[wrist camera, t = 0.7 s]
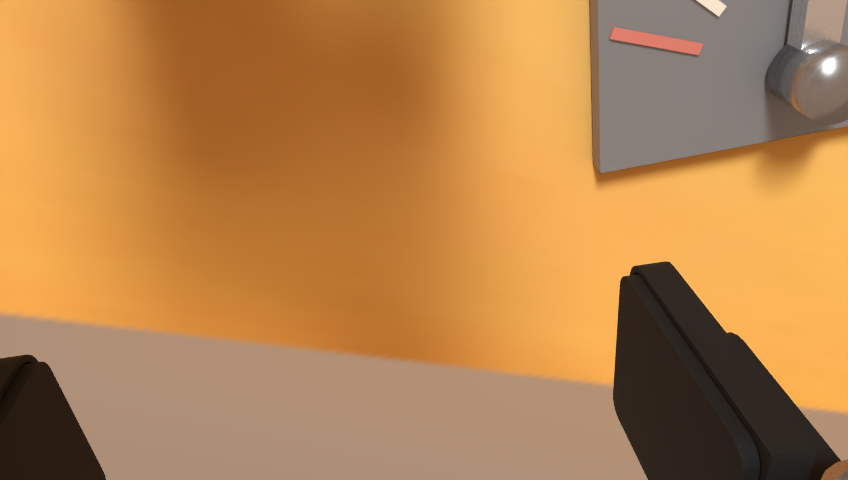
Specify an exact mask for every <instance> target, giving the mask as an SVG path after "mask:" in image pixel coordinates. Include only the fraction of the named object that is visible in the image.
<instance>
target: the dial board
mask: <svg viewBox="0 0 848 480" xmlns="http://www.w3.org/2000/svg"><path fill="white" fill-rule="evenodd" d="M792 2H793V0H590V33H591V79H592V126H593V164H594V166H595V167H596V168H597V170H598V171H599V172H600V173H606V172H611V171H616V170H621V169H626V168H632V167H637V166H642V165H647V164H653V163H658V162H663V161H668V160H673V159H679V158H684V157H689V156H694V155H700V154H705V153H710V152H715V151H721V150H726V149H731V148H736V147H741V146H747V145H752V144H757V143H762V142H768V141H773V140H778V139H783V138H788V137H794V136H799V135H804V134H809V133H815V132H820V131H825V130H830V129H836V128H841V127H846V126H848V120H846V121H844V122H841V123H837V124H832V125H825V124H820V123H818V122H816V121H814V120H812V119H810V118H809V117H807V116H805V115H804V114H802V113H800V112H799V111H797V110H795V109H794V108H792V107H790V106H789V105H787V104H785V103H784V102H782V101H780V100H779V99H777V98H776V97H775V96H774V95H773V94H772V93H771V91H770V89H769V86H768V72H769V68H770V65H771V63H772V61H773V59H774V58H775V56H776V55H777V53H778V52H779V51H780V50H781V49H782V48H783V47H784V46H785V45H786V44H787V40H788V32H789V25H790V17H791V10H792ZM840 43H841V44H843V45H846V46H848V0H847V5H846V10H845V16H844V22H843V28H842V33H841V39H840Z"/></svg>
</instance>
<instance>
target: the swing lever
mask: <svg viewBox="0 0 848 480" xmlns="http://www.w3.org/2000/svg"><path fill="white" fill-rule="evenodd" d="M846 5H847V0H793V2H792V10H791V17H790V25H789V32H788V40H787V44H786V45H785V46H784V47H783V48H782V49H781V50H780V51H779V52H778V53H777V55H776V56H775V58H774V59H773V61H772V63H771V65H770V68H769V72H768V86H769V89H770V91H771V93H772V94H773V95H774V96H775V97H776V98H777V99H779V100H780V101H782V102H784V103H785V104H787V105H789V106H790V107H792V108H794V109H795V110H797V111H799V112H800V113H802V114H804V115H805V116H807V117H809V118H810V119H812V120H814V121H816V122H818V123H820V124H825V125H832V124H837V123H841V122H844V121H846V120H848V46H846V45H843V44H841V43H840V39H841V33H842V28H843V22H844V16H845V10H846Z"/></svg>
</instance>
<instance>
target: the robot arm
mask: <svg viewBox="0 0 848 480" xmlns="http://www.w3.org/2000/svg"><path fill="white" fill-rule="evenodd" d="M613 400H614V406H615V410H616V414H617V416H618V419H619V421H620V423H621V425H622V427H623V429H624V431H625V433H626V435H627V437H628V439H629V441H630V443H631V445H632V447H633V449H634V452H635V454H636V456H637V458H638V460H639V462H640V464H641V466H642V468H643V470H644V472H645V474H646V476H647V478H648V480H848V460H844V461H841V460H840V459H839V458H838V457H837V455H836V454H835V453H834V452H833V450H832V449H831V448H830V447H829V445H828V444H827V443H826V442H825V441H824V439H823V438H822V437H821V436H820V435H819V433H818V432H817V431H816V429H815V428H814V427H813V426H812V425H811V423H810V422H809V421H808V420H807V418H806V417H805V416H804V415H803V414H802V412H801V411H800V410H799V408H798V407H797V406H796V405H795V404H794V402H793V401H792V400H791V399H790V397H789V396H788V395H787V394H786V392H785V391H784V390H783V389H782V388H781V386H780V385H779V384H778V383H777V381H776V380H775V379H774V378H773V376H772V375H771V374H770V373H769V372H768V370H767V369H766V368H765V367H764V365H763V364H762V363H761V362H760V360H759V359H758V358H757V357H756V356H755V354H754V353H753V352H752V351H751V349H750V348H749V347H748V346H747V344H746V343H745V342H744V341H743V340H742V339H741V338H740V337H739V336H738V335H736V334H734V333H731V332H730V333H726V332H725V331H724V329H723V328H722V327H721V326H720V324H719V323H718V322H717V321H716V319H715V318H714V317H713V315H712V314H711V313H710V312H709V310H708V309H707V308H706V307H705V305H704V304H703V303H702V302H701V300H700V299H699V298H698V296H697V295H696V294H695V293H694V291H693V290H692V289H691V288H690V286H689V285H688V284H687V283H686V281H685V280H684V279H683V277H682V276H681V275H680V274H679V272H678V271H677V270H676V269H675V267H674V266H673V265H672V264H671V263H670V262H659V263H652V264H645V265H639V266H634V267H633V268H632V269H631V272H630V276H624V277H622V279H621V282H620V294H619V310H618V326H617V342H616V358H615V373H614V389H613ZM0 480H106V478H105V474H104V472H103V470H102V468H101V466H100V464H99V462H98V460H97V458H96V456H95V454H94V452H93V450H92V449H91V447H90V445H89V443H88V441H87V439H86V437H85V435H84V433H83V431H82V429H81V427H80V425H79V423H78V421H77V419H76V417H75V415H74V414H73V412H72V410H71V407H70V406H69V404H68V402H67V400H66V398H65V396H64V394H63V392H62V390H61V388H60V387H59V384H58V382H57V380H56V378H55V376H54V374H53V372H52V370H51V368H50V367H49V366H48V364H46V363H45V362H38V361H37V359H36V358H35V357H33V356H32V355H21V356H14V357H7V358H1V359H0Z"/></svg>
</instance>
